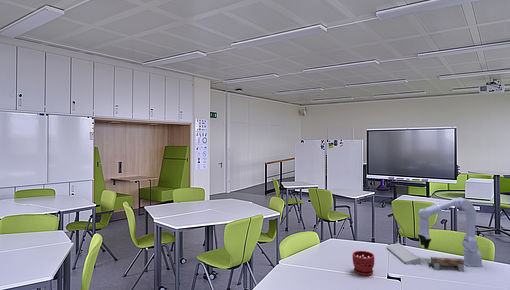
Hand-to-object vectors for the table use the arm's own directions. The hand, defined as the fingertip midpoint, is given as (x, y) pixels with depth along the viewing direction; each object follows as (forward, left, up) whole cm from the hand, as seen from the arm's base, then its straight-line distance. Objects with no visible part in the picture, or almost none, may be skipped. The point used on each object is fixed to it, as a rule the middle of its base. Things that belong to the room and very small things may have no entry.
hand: (424, 246), depth 220 cm
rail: (-10, +12, -7) cm, 17 cm away
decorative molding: (+12, -10, -11) cm, 19 cm away
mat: (-12, -1, -10) cm, 16 cm away
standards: (-10, +12, -10) cm, 19 cm away
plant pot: (+43, +28, -10) cm, 52 cm away
